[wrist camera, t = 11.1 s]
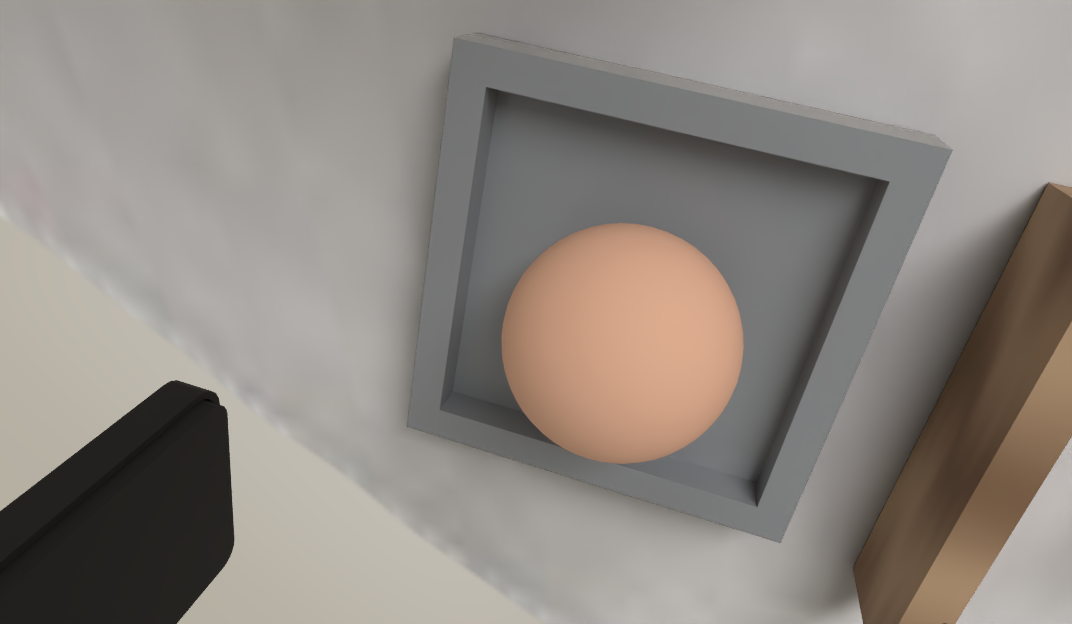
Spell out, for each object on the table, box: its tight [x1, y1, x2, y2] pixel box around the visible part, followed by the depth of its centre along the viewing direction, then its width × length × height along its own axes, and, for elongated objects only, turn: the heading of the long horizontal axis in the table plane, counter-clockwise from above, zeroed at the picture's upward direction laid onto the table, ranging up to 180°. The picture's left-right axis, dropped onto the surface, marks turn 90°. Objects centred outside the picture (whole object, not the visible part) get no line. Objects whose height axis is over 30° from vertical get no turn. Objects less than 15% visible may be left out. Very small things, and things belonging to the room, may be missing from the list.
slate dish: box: [407, 33, 952, 543], centre depth 21 cm, size 12×12×2 cm
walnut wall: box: [853, 183, 1072, 624], centre depth 19 cm, size 13×1×4 cm, turn 170°
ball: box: [501, 223, 744, 464], centre depth 19 cm, size 6×6×6 cm
